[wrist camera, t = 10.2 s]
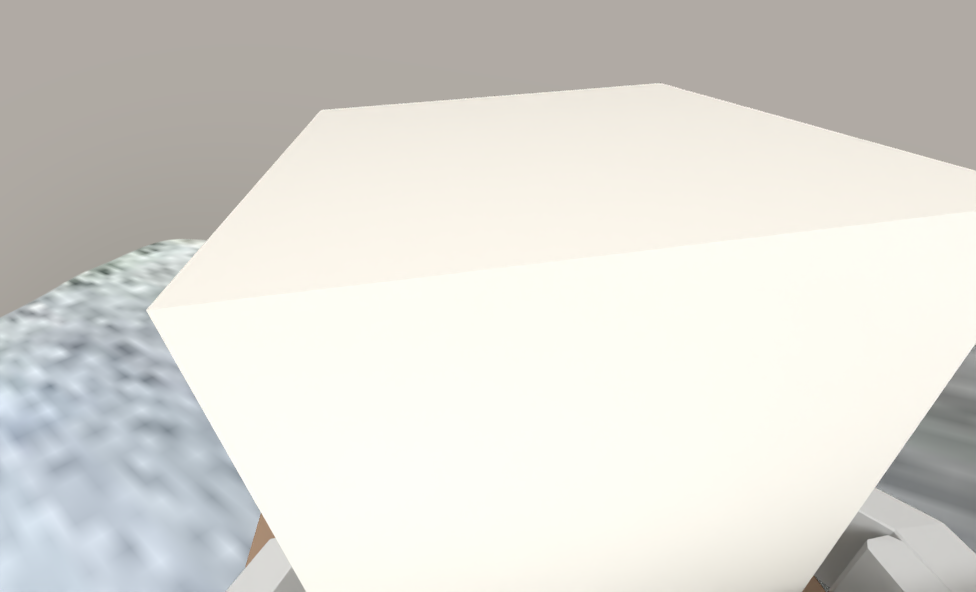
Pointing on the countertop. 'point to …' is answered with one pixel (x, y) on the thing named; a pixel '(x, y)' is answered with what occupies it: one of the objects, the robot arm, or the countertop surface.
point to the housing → (574, 340)
